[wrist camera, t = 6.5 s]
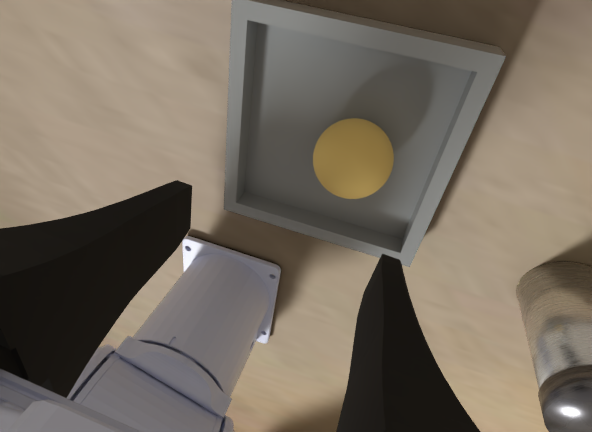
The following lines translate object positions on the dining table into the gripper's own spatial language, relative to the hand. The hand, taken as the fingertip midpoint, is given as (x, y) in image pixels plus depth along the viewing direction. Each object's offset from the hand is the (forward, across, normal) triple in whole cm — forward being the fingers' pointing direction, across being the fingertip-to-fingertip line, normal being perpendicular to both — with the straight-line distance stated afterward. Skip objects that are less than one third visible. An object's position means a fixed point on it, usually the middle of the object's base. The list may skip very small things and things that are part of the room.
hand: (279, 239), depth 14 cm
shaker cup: (+10, -16, +5) cm, 19 cm away
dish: (+10, 0, 0) cm, 10 cm away
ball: (+7, -1, 0) cm, 7 cm away
